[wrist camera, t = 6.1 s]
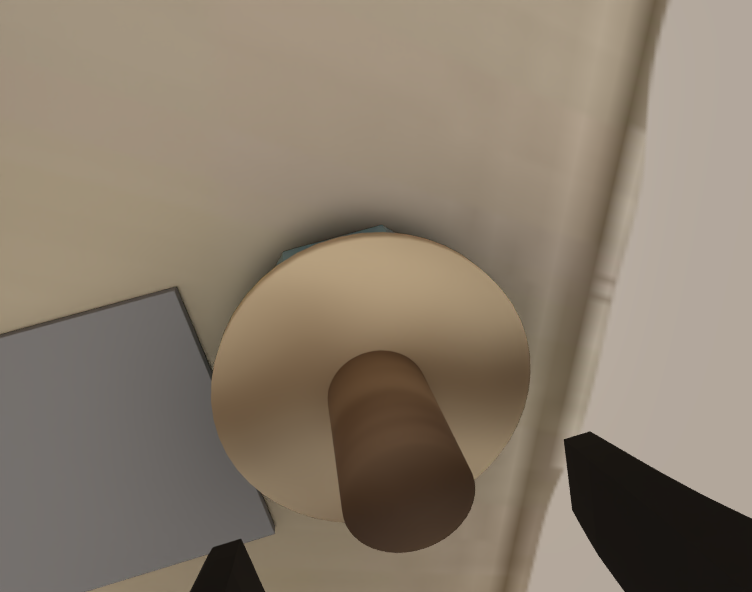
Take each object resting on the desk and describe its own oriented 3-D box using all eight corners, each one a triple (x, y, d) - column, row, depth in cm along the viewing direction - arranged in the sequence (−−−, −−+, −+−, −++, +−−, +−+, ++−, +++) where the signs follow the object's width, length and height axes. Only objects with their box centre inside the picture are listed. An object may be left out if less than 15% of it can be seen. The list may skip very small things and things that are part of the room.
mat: (274, 526, 22) (274, 533, 21) (9, 607, 21) (3, 616, 21) (176, 286, 17) (174, 290, 17) (-159, 378, 17) (-169, 384, 16)
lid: (532, 462, 18) (618, 589, 14) (265, 537, 18) (257, 699, 13) (502, 197, 15) (605, 243, 10) (167, 278, 14) (105, 368, 9)
